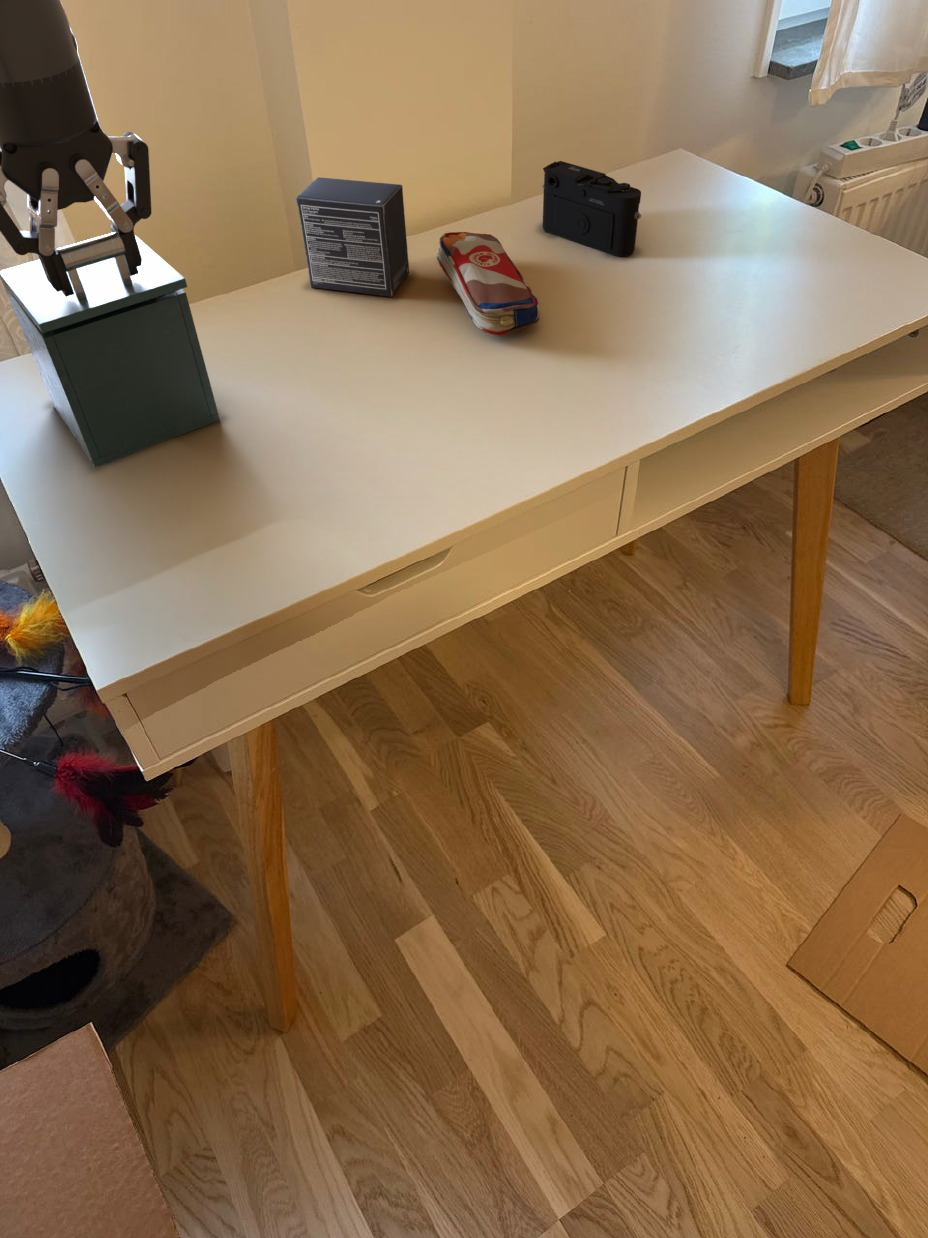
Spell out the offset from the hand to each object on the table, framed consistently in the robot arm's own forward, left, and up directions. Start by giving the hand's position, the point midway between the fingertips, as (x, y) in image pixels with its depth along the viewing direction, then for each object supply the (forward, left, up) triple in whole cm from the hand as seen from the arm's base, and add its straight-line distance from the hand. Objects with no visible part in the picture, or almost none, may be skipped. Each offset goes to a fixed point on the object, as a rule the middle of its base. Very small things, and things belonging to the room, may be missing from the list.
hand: (98, 280), depth 79 cm
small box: (+32, +14, -15) cm, 38 cm away
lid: (0, +3, -2) cm, 4 cm away
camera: (+60, +6, -15) cm, 63 cm away
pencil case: (+40, +1, -15) cm, 43 cm away
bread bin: (0, +4, -15) cm, 16 cm away
